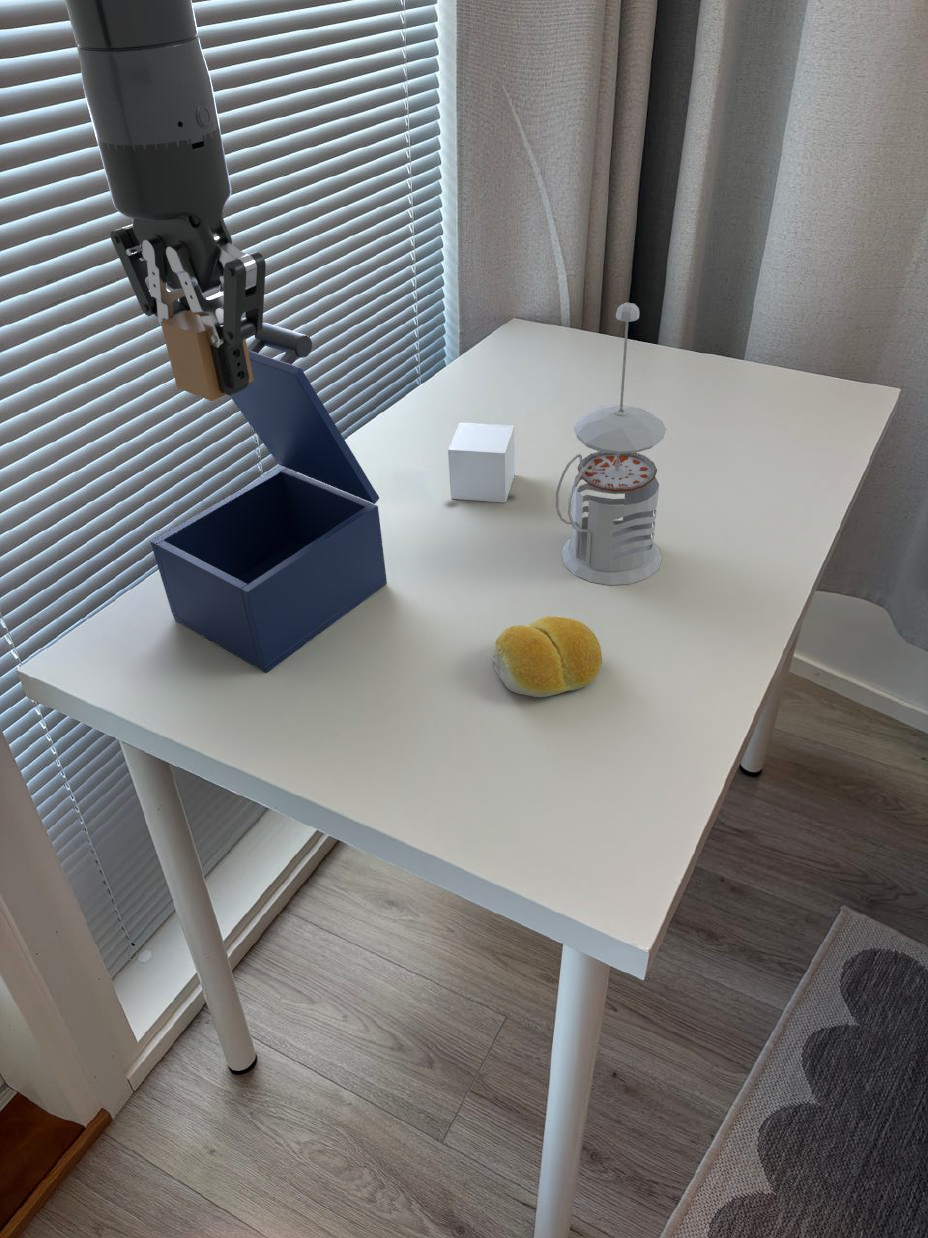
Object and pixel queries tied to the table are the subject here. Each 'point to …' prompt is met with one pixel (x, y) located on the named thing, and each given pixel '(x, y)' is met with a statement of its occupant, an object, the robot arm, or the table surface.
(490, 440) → the white cube
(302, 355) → the lid
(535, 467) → the table surface
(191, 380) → the block
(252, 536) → the box
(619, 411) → the french press
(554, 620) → the bread roll
